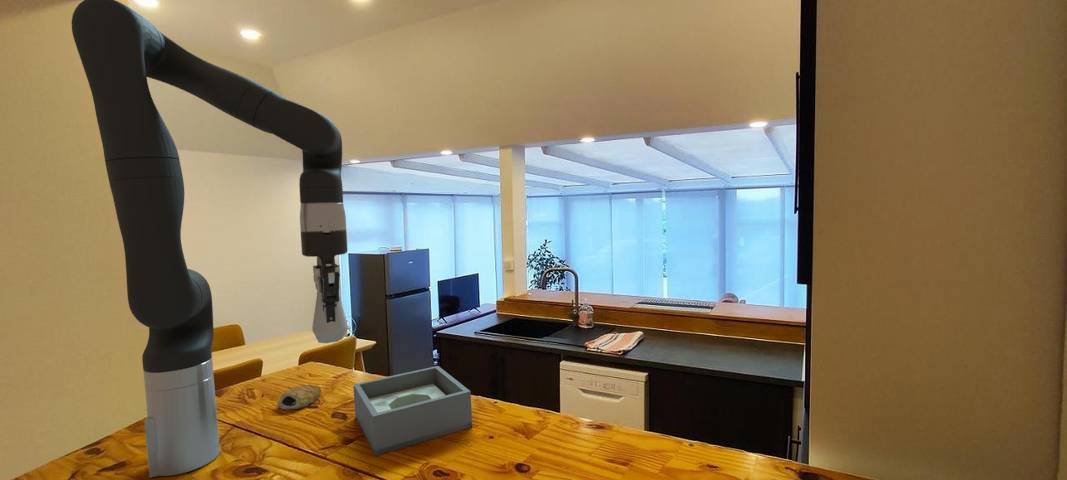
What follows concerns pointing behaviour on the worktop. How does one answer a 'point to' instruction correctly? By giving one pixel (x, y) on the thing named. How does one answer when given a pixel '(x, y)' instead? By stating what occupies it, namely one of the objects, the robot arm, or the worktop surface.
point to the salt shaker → (329, 322)
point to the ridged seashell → (299, 397)
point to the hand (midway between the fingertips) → (329, 322)
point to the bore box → (411, 408)
